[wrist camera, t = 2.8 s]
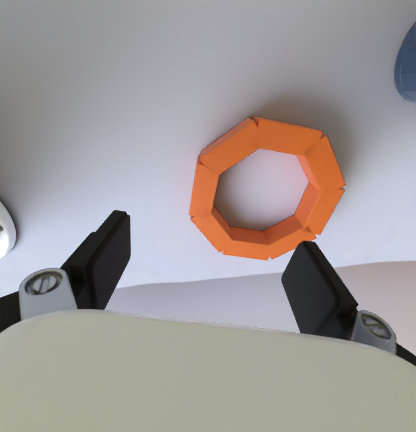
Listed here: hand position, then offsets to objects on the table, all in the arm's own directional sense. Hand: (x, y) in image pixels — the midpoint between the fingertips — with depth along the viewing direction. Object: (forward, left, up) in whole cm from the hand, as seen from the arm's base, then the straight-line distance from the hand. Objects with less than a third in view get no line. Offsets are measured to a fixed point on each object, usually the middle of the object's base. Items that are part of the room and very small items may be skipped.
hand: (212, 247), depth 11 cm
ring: (+5, 0, -10) cm, 11 cm away
